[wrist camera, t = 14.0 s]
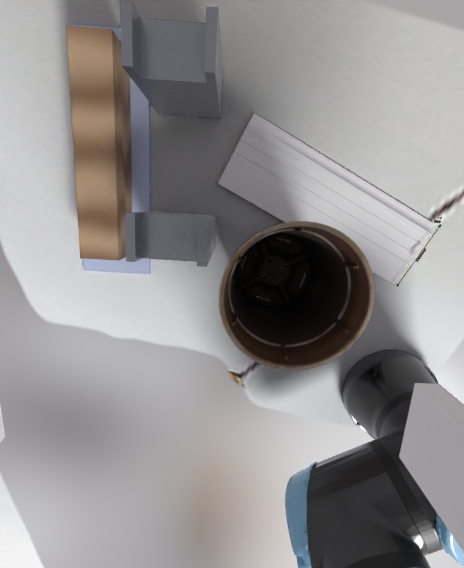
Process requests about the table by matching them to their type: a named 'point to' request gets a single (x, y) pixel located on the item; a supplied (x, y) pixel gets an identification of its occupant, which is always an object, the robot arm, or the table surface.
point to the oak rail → (100, 140)
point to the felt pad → (139, 173)
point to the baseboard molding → (324, 197)
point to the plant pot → (297, 296)
